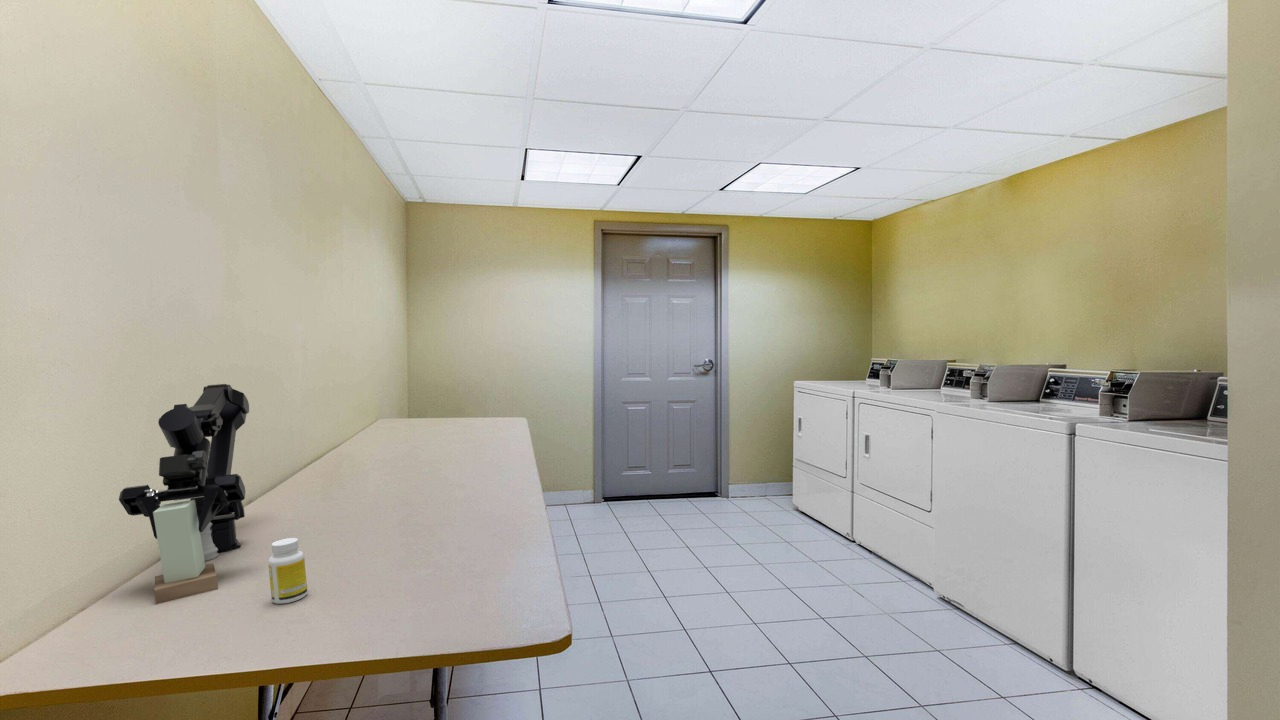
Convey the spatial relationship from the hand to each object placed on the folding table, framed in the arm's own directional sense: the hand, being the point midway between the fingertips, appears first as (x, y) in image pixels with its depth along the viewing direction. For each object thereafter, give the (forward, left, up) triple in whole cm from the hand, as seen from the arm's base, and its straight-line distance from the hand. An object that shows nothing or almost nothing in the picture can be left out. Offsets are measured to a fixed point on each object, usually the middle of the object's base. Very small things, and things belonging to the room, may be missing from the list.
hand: (178, 534), depth 116 cm
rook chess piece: (-20, +5, -11) cm, 23 cm away
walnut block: (-1, 0, -11) cm, 11 cm away
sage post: (-1, 0, -8) cm, 8 cm away
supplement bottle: (+19, +14, -11) cm, 26 cm away
